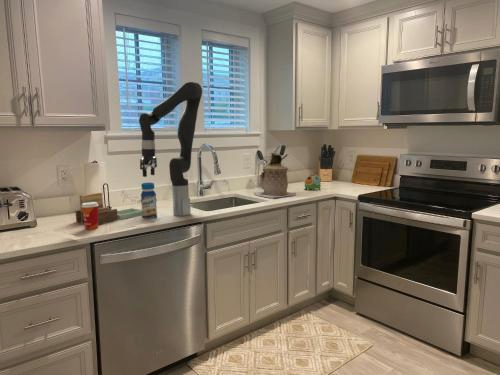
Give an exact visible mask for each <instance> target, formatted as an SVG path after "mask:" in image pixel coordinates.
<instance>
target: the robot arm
mask: <svg viewBox="0 0 500 375" xmlns="http://www.w3.org/2000/svg"><path fill="white" fill-rule="evenodd" d="M202 95H203V88H202V86H201V85H200V83H198V82H193V81H187V82H185V83H183V84H182V85H181V86H180V87H179V88H178V89H177V90H176V91H175V92H174V93H173V94H172V95H170V96H169V97H168V98H166V99H165V100H164V101H161V103H158V104H157V105H155V106H154V107H153V109H152V111H151V112H142V113H140V116H139V120H138V123H139V126H140V130H141V157H143V158H140V159H139V160H140V161H139V169H140V170H141V171H142V177H145V178H146V177H147V176H148V174H147V173H148V171H147V170H148V168H149V167H150V176H155V174H156V173H155V169H156V168H157V167H158V163H157V162H158V160H157V159H158V158H157V157H156V141H155V138H156V137H155V136H156V135H155V131H154V130H153V129H152V126H155V125H156V124H157V123H158V122H160V120H161V119H162V118H164V117H166V116H167V115H168V114H170V113H172V112H173V111H174V110H175V108H177V106H179V105H180V104H182V103H183V102H186V103H185V104H186V105H185V107H184V111H183V112H182V115H181V116H180V119H179V120H178V121H179V122H178V127H177V139H178V140H179V144H180V154H179V156H177V157H176V156H175V157H172V158H171V159H170V160H169V165H168V166H169V179H170V182H171V185H172V186H171V188H172V190H171V191H172V211H173V215H174V216H176V217H178V216H179V217H183V216H184V217H185V216H188V215H191V212H192V210H191V198H190V195H189V190H190V189H189V179H187V178H185V177H184V173H187V172H188V171H190V168H191V163H192V150H193V143H194V136H195V131H196V123H197V117H198V111H199V106H200V102H201V99H202Z"/></svg>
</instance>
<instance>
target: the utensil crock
mask: <svg viewBox="0 0 500 375" xmlns="http://www.w3.org/2000/svg"><path fill="white" fill-rule="evenodd" d="M270 154H271V157H270V158H271V159H270V162H269V163H268V164H266V165H264V166H263V168H262V172H261V173H260V175H259V178H260V181H261V188H262V190H263V191H259V192H258V191H252V193H253V195H256V197H257V196H259V197H264V198H268V199H271V200H273V199H276V198H284V197H285V198H286V197H296V196H297V192H290V191H289V192H288V186H289V182H288V174H287V172H288V170H289V168H288V167H286V166H284V165H282V156H281V155H280V154H277V153H274V152H271V153H270Z"/></svg>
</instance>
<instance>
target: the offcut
mask: <svg viewBox="0 0 500 375" xmlns="http://www.w3.org/2000/svg"><path fill="white" fill-rule="evenodd" d="M105 207H106V206H103V208H98V212H102V211H107V208H105Z"/></svg>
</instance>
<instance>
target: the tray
mask: <svg viewBox="0 0 500 375" xmlns="http://www.w3.org/2000/svg"><path fill="white" fill-rule="evenodd" d="M117 215H118V220H120V221H122V220H125V219H129V218H135V217H139V216H140V217H142V208H141V209H139V208H135V207H129V208H125V209H119V210H117Z"/></svg>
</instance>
